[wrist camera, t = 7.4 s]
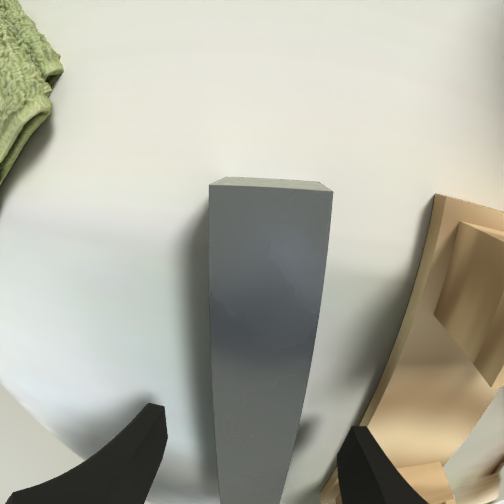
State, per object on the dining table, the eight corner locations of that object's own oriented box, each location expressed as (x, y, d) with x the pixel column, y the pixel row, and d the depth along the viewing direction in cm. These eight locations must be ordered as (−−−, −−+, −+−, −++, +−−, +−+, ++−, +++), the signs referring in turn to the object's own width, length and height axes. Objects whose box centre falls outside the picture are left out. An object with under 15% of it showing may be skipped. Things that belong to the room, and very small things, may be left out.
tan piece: (417, 484, 15) (433, 538, 10) (319, 494, 15) (323, 558, 10) (550, 227, 9) (624, 264, 4) (435, 193, 10) (534, 229, 5)
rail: (275, 484, 16) (273, 522, 13) (228, 481, 16) (222, 518, 13) (317, 180, 10) (333, 191, 7) (227, 176, 10) (209, 184, 7)
